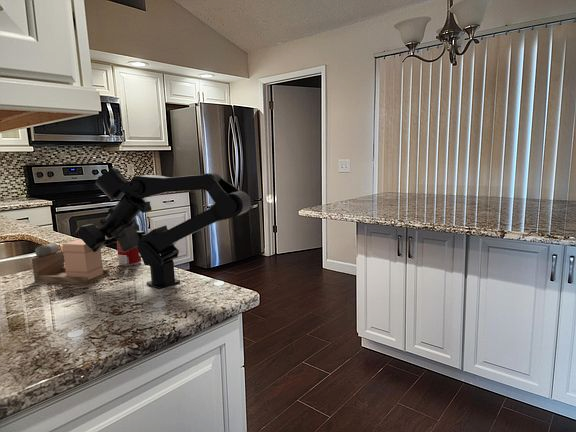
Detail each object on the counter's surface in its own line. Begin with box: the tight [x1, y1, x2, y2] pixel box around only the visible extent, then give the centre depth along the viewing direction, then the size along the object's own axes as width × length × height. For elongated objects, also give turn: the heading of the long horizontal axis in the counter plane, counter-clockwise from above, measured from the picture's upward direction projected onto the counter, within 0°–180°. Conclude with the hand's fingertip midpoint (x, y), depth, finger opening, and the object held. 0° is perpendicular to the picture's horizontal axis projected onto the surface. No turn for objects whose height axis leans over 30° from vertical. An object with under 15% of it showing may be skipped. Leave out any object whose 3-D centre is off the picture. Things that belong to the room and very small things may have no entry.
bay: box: [31, 242, 110, 286], centre depth 107 cm, size 18×9×10 cm, turn 77°
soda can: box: [116, 241, 142, 267], centre depth 120 cm, size 7×7×12 cm
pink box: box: [62, 238, 104, 280], centre depth 106 cm, size 7×6×10 cm
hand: (94, 250), depth 105 cm, fingers closed, pressing on pink box
